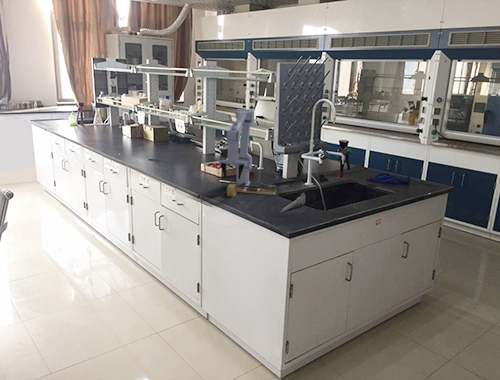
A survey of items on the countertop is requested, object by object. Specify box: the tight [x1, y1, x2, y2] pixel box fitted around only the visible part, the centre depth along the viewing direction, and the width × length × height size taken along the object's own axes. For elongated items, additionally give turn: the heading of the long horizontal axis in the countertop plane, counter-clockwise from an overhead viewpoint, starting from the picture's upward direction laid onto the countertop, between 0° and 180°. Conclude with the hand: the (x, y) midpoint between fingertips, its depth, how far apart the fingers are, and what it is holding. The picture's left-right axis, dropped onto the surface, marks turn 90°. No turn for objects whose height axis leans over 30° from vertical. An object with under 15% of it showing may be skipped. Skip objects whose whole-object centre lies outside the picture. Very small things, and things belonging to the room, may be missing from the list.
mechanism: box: [229, 181, 277, 196], centre depth 231 cm, size 7×26×5 cm, turn 81°
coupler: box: [226, 183, 238, 197], centre depth 224 cm, size 4×7×5 cm, turn 171°
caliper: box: [280, 192, 306, 213], centre depth 205 cm, size 20×1×6 cm, turn 140°
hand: (232, 177), depth 222 cm, fingers open, 7 cm apart
